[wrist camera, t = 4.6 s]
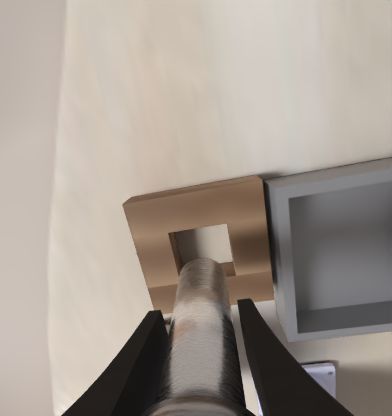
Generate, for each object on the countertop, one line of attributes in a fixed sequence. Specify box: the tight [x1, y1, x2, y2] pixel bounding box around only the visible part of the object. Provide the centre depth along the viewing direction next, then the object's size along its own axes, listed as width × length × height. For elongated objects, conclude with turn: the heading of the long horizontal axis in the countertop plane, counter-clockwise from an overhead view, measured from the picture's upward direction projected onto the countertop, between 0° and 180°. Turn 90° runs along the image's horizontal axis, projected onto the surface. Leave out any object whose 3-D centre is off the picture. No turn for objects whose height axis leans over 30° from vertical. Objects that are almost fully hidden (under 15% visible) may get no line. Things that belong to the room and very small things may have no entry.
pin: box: [141, 258, 255, 416], centre depth 10 cm, size 4×4×9 cm
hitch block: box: [122, 175, 275, 314], centre depth 18 cm, size 10×10×2 cm
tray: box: [263, 157, 392, 343], centre depth 17 cm, size 13×11×3 cm
